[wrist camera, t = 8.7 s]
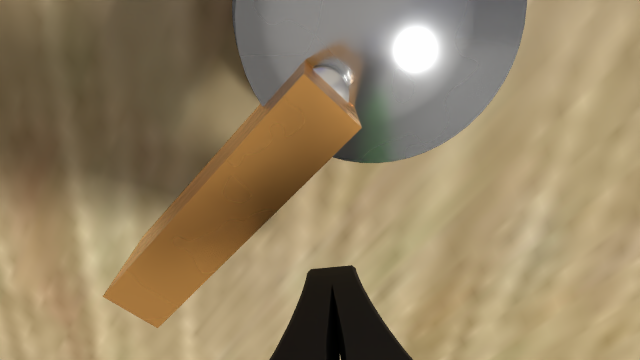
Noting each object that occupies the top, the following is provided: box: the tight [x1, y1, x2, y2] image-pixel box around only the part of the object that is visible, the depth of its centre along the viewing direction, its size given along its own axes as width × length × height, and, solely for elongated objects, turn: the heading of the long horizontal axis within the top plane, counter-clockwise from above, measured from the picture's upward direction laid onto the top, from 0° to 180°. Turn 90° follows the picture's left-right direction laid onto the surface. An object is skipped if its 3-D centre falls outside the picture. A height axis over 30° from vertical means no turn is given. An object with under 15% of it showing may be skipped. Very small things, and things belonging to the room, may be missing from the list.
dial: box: [103, 0, 527, 328], centre depth 10 cm, size 12×6×4 cm, turn 137°
